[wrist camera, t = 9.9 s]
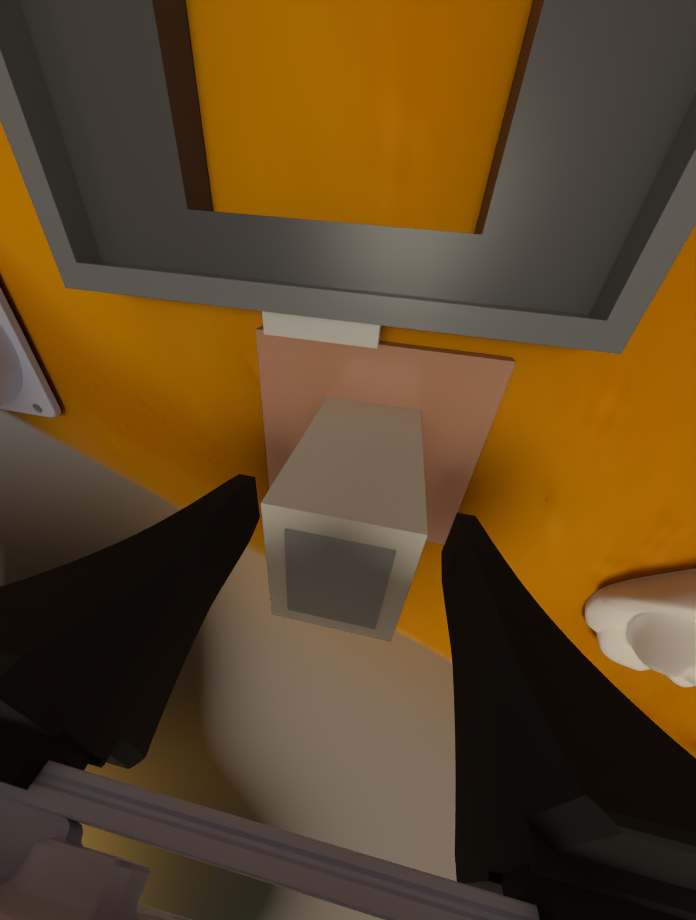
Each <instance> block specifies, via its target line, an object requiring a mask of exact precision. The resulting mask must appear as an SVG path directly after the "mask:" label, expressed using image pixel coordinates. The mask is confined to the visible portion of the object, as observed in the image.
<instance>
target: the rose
mask: <svg viewBox="0 0 696 920" xmlns="http://www.w3.org/2000/svg"><path fill="white" fill-rule="evenodd" d="M585 620H586V623H587V624H588V626H589V627H590V628H591V629H593V630H594V631H595V632H596V634H597V639H598V643H599V647H600V649H601V651H602V652H603V653H604V654H605V655H606V656H607V657H608V658H610V659H611V660H613V661H614V662H616V663H619V664H621V665H624V666H627V667H629V668H632V669H634V670H640V671H643V670H648V669H652V670H655V671H657V672H659V673H662V674H664V675H666V676H667V677H668V678H669V679H671V680H672V681H673V682H674V683H676V684H677V685H679V686H682V687H693V686H696V568H695V569H689V570H683V571H676V572H670V573H664V574H658V575H652V576H646V577H641V578H635V579H630V580H626V581H622V582H618V583H614V584H611V585H608V586H605V587H603V588H601V589H599V590H598V591H596V592H595V593H594V594H593V595H592V596H591V597H590V598H589V599H588V600H587V601H586V603H585Z"/></svg>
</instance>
